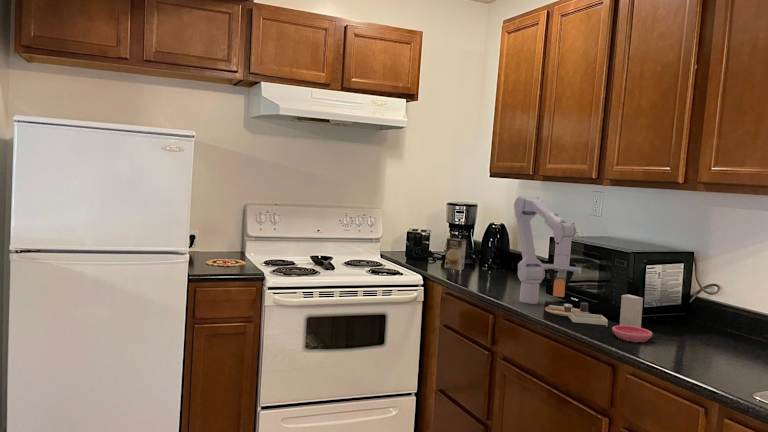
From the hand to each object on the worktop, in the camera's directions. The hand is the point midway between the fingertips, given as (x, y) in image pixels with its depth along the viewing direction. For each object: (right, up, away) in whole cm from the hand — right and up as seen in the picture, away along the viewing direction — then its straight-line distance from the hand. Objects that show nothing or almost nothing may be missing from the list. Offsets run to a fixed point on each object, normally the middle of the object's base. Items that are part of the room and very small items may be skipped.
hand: (559, 289), depth 225 cm
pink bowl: (+16, -13, -27) cm, 34 cm away
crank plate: (+4, -10, +4) cm, 11 cm away
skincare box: (+20, -12, -15) cm, 28 cm away
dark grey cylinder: (+4, -9, +3) cm, 10 cm away
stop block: (0, -2, 0) cm, 2 cm away
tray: (+7, -11, -10) cm, 16 cm away
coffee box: (-29, -1, +94) cm, 99 cm away
